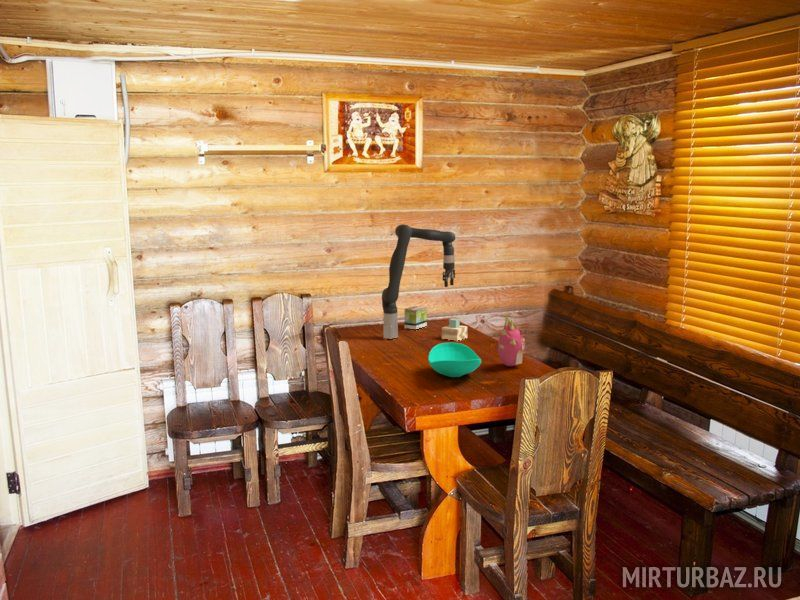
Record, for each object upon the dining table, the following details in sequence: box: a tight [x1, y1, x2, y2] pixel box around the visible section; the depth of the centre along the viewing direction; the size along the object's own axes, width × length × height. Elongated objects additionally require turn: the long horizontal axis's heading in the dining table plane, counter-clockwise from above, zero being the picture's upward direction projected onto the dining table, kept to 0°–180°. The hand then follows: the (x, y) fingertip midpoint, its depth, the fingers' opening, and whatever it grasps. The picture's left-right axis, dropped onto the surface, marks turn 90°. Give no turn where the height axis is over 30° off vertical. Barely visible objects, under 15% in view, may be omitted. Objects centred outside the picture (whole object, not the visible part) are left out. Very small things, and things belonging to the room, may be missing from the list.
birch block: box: [441, 324, 468, 342], centre depth 453 cm, size 12×12×8 cm
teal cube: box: [448, 317, 460, 328], centre depth 452 cm, size 5×5×5 cm
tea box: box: [404, 305, 428, 330], centre depth 486 cm, size 15×10×15 cm
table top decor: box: [427, 342, 482, 378], centre depth 369 cm, size 40×28×13 cm
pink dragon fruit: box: [497, 312, 526, 367], centre depth 383 cm, size 18×14×30 cm
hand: (449, 286), depth 464 cm, fingers open, 8 cm apart
